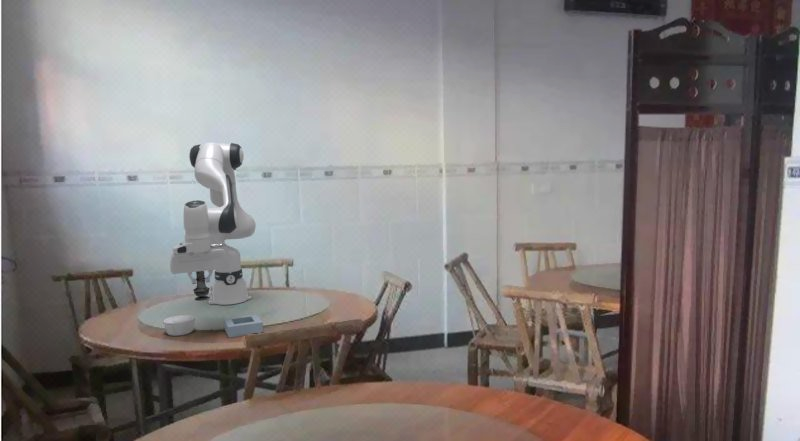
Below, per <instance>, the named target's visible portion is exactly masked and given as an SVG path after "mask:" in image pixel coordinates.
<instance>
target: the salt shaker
mask: <svg viewBox="0 0 800 441" xmlns="http://www.w3.org/2000/svg"><path fill="white" fill-rule="evenodd" d="M195 275H196V277H195V279H196V287H195V288H193V289H192V291H193V293H194V295H195V296H196V297H195V298H194V300H195V301H196V302H197V301H200V302H201V301H206V300H209V299H210V297H209V296H208V295H209V292H210V287H208V286H207V284H206V278H205V277H206V275H205V271H198V272H195Z"/></svg>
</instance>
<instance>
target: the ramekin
mask: <svg viewBox="0 0 800 441" xmlns="http://www.w3.org/2000/svg"><path fill="white" fill-rule="evenodd" d="M195 321H196V317H195V316H194V315H191V314H180V315H179V314H178V315H173V316H170V317H167V318H164V320H163V325H164V328H165V331H166V334H168V336H174V337H175V336H177V337H178V336H184V335H188V334H191V333H192V332H193V331H194V329H195Z"/></svg>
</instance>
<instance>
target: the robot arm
mask: <svg viewBox="0 0 800 441" xmlns="http://www.w3.org/2000/svg"><path fill="white" fill-rule="evenodd" d="M188 156H189V162H190V165H191V167H193V168H194V177H195V179H196V181H197V183H199V185H201V186H202V187H205V188H207V189H209V198H210V201H211V203H212V204H213V205H214V206H216V207H208V205H207V203H206V202H205V201H203V200H191V201H188V202H186V203H185V204H184V205H183V228H184V231H185V236H184V241H182V242H181V243H178V244H175V245H173V246H172V252H173V253H172V254H171V256H170V264H169V265H170V268H169V269H170V273H171V274H173V275H176V274H177V275H178V274H187V276H188V277H189V279H190V282H191V285H195V284H196V285H197V281H196V279H197V278H196V277H195V278H194V277H193V276H192V275H193V273H196V272H198V271H204V272H206V271H207V272H208V275H207V276H205V278H206V279H205V284H206V283H211V277H212V275H213V273H214V280H215V281H214V282H213V284H212V285H211V286H210V287H209V288H210V289H209V292H211V294H210V298H209V299H208V304H209V305H211V304H212V305H221V306H225V305H226V306H227V305H235V304H236V305H237V304H240V303H244V302H246V301H247V300H251V299H252V298H253V297H252V295H250V294H248V286H247V281H246V280H245V279H244V278H243V273H244V272H243V268H242V263H241V262H242V260H241V253H240V251H239V250H238V249H236V248H235V247H232V246H230V245H228V244H227V243H226V242H225V241H227V240H240V239H245V238H249V237H252V236H253V235H254V233H255V231H256V228H257V226H256V222H255V220H254V217H253V216H252V215H250V214H248V213H247V212H246V211H245V210H244V209H243V208H242V206H241V205H240V202H239V200H238V194H237V187H236V186H237V185H236V184H237V183H236V176H235V171H236V170H237V169H238V168H240V167H241V166H242V164H243V161H244V158H245V157H244V151H243V149H242V147H241V146H240V144H239V143H234V142H231V143H227V142H212V141H211V142H210V141H207V142H205V143H203V144H196V145H193V146H192V147H191V148H190V150H189V155H188ZM213 271H214V272H213Z"/></svg>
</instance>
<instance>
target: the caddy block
mask: <svg viewBox="0 0 800 441" xmlns="http://www.w3.org/2000/svg"><path fill="white" fill-rule="evenodd" d="M224 328H225V329H224ZM223 329H224V331H225V333H226V335H227V337H228V339H229V338H237V337H242V336H244V337H245V336H246V335H245V334H251V333H258V334H260V333H259V332H263V333H264V322H263V321H262V320H261V318H260V316H259V315H258V314H257V313H254V314H247V315H239V316H233V317H225V318H223ZM251 335H252V334H251Z"/></svg>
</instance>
